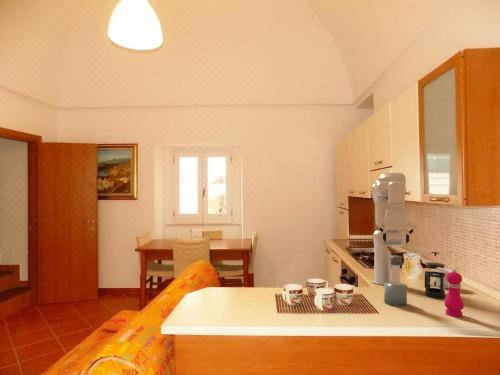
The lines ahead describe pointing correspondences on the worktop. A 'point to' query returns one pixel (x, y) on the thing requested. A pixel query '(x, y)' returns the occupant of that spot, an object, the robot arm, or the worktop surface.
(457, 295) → the pepper mill
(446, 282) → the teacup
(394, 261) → the pump head
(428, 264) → the french press
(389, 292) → the syrup pump bottle
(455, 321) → the worktop surface
